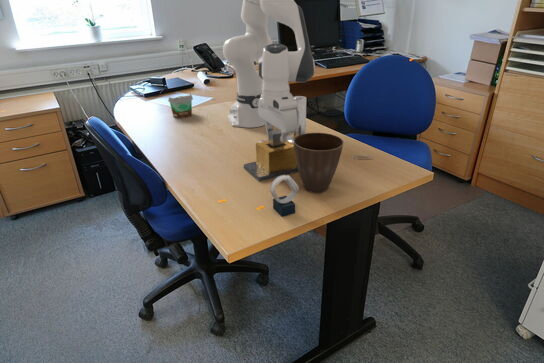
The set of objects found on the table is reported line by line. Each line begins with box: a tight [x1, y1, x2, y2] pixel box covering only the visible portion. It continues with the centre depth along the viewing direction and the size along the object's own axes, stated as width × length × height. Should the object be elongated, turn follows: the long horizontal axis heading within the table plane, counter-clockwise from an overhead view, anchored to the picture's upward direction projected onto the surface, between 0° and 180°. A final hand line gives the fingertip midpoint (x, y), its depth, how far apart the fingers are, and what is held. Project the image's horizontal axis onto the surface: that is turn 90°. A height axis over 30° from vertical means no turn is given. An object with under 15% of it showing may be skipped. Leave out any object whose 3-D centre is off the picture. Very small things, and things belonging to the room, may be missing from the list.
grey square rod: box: [267, 129, 284, 148], centre depth 135 cm, size 3×4×12 cm, turn 121°
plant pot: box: [294, 132, 344, 194], centre depth 122 cm, size 15×15×16 cm
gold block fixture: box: [243, 95, 307, 182], centre depth 136 cm, size 17×24×24 cm
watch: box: [269, 174, 300, 218], centre depth 111 cm, size 6×8×11 cm
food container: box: [167, 93, 194, 119], centre depth 191 cm, size 12×6×10 cm, turn 126°
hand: (276, 137), depth 133 cm, fingers open, 8 cm apart
